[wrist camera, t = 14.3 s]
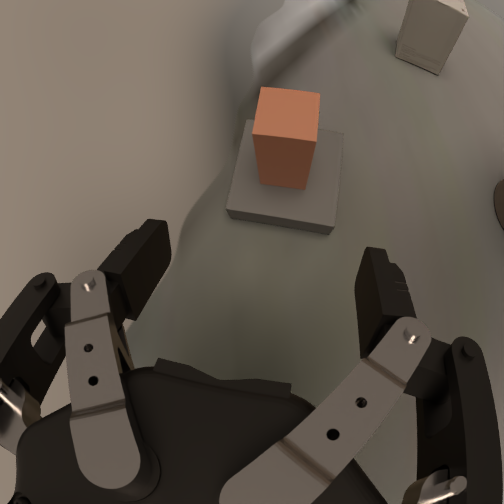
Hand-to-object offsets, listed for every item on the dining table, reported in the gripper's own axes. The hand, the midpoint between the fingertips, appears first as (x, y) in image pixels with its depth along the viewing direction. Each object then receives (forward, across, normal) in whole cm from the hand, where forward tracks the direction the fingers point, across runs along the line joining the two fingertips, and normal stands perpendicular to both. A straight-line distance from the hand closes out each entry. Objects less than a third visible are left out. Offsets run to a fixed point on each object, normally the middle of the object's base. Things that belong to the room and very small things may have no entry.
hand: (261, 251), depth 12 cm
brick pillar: (+20, 0, +4) cm, 21 cm away
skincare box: (+42, -19, -13) cm, 48 cm away
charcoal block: (+23, 0, +6) cm, 24 cm away
